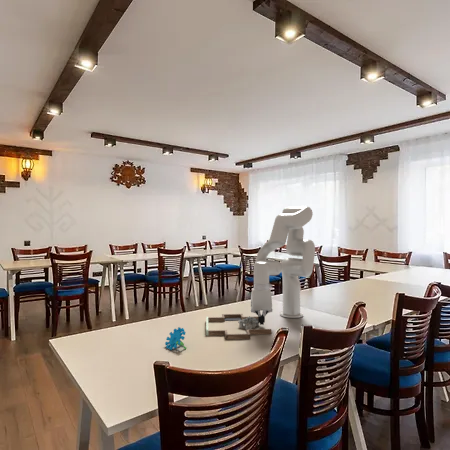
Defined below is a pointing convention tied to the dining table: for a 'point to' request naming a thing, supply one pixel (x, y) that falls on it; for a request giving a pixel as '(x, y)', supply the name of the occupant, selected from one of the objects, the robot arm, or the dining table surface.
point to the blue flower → (175, 339)
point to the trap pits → (232, 319)
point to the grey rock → (248, 323)
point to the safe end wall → (206, 326)
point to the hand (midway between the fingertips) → (261, 323)
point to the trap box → (235, 336)
